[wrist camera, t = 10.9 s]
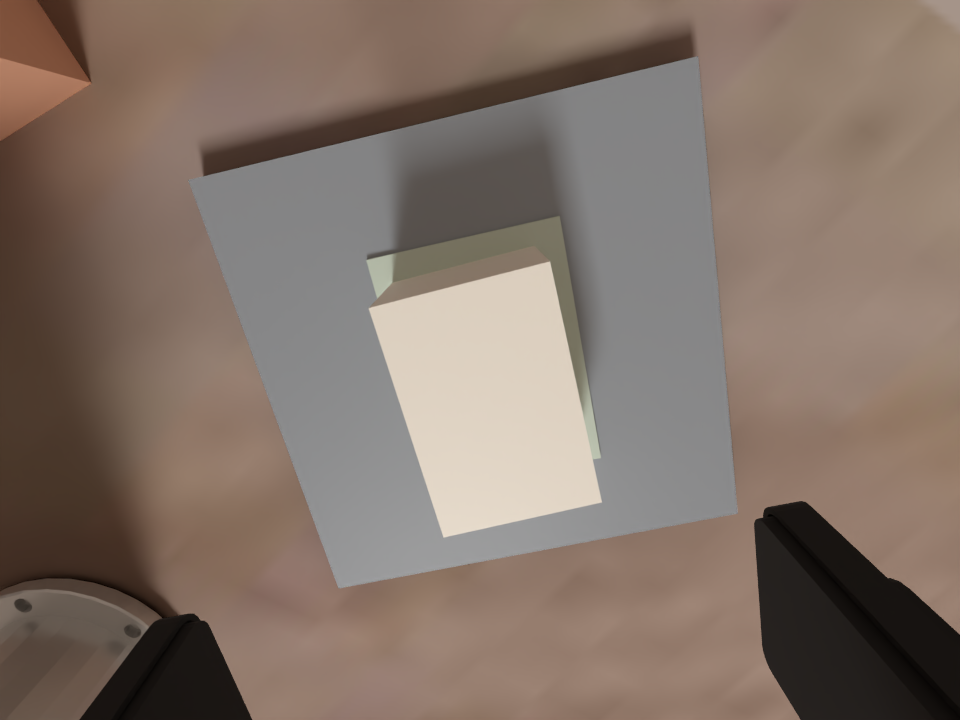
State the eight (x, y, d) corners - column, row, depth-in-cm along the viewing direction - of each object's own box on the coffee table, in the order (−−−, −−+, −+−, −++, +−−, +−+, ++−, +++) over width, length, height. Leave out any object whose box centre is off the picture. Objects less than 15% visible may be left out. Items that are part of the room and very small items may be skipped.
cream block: (577, 440, 24) (601, 502, 19) (450, 470, 25) (443, 537, 20) (534, 245, 22) (550, 261, 17) (392, 282, 22) (368, 308, 17)
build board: (726, 499, 27) (739, 515, 25) (344, 572, 28) (337, 591, 27) (686, 63, 21) (700, 54, 19) (203, 180, 22) (185, 179, 21)
